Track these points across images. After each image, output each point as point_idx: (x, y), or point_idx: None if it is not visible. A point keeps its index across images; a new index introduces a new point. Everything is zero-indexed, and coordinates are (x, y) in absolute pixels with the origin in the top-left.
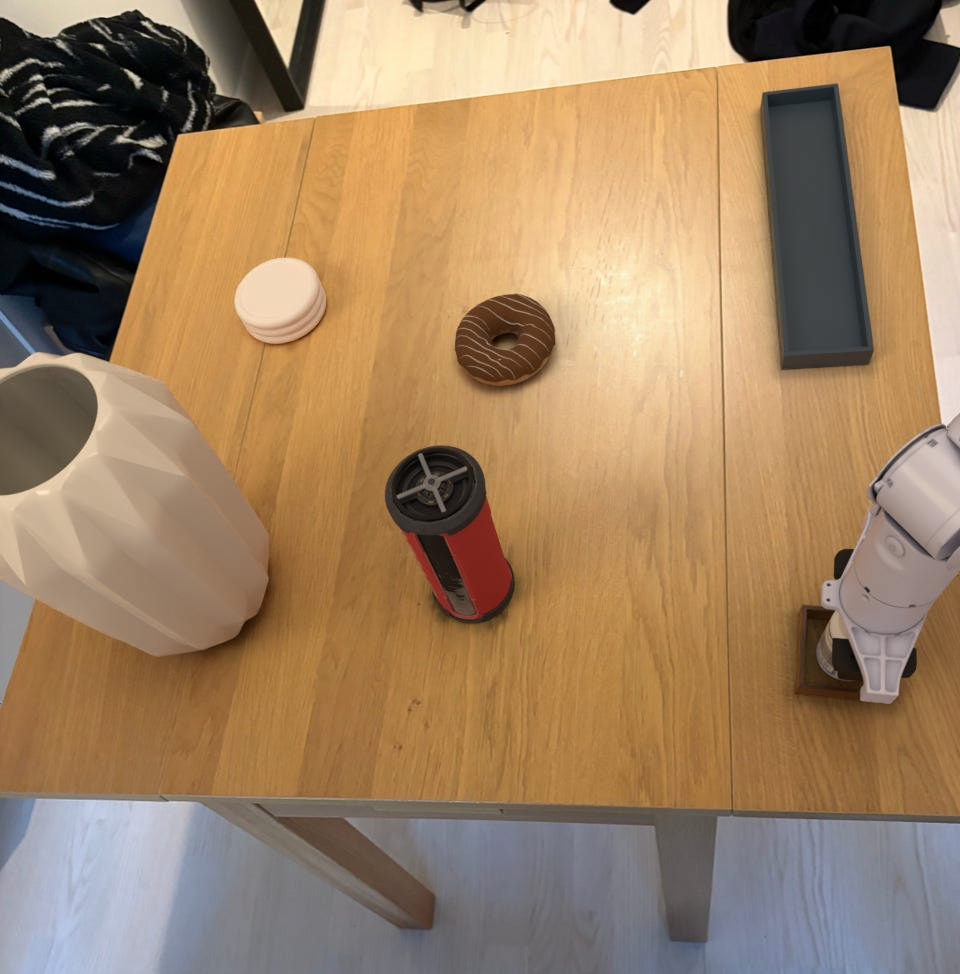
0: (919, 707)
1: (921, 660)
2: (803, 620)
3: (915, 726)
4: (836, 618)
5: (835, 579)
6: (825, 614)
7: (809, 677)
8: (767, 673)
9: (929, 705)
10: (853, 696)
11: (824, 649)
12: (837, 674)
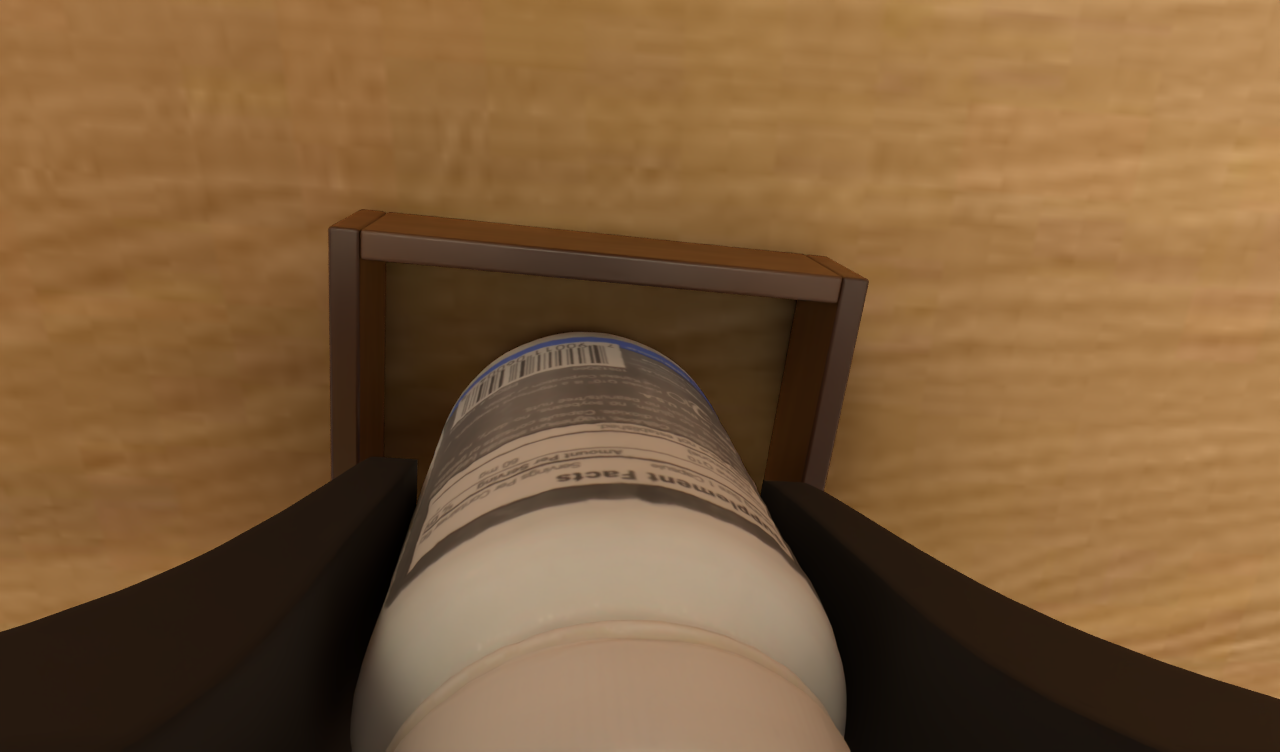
0: None
1: None
2: (770, 280)
3: None
4: (682, 577)
5: (1148, 748)
6: (802, 391)
7: (466, 288)
8: (475, 62)
9: None
10: None
11: (540, 398)
12: (342, 473)
